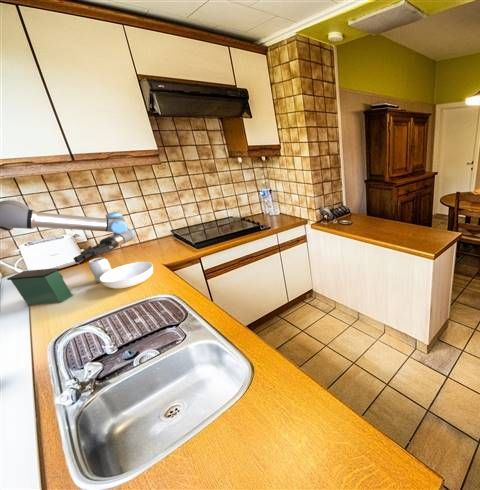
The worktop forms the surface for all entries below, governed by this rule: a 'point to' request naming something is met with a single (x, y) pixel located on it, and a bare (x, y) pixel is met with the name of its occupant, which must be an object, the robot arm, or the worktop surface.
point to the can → (99, 267)
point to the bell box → (41, 286)
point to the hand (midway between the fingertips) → (76, 260)
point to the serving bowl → (127, 275)
